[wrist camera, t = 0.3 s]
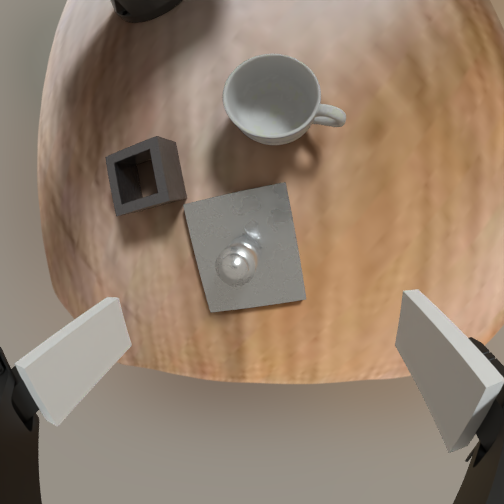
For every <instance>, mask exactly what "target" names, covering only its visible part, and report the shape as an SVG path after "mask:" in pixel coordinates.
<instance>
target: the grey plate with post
mask: <svg viewBox="0 0 504 504" xmlns="http://www.w3.org/2000/svg"><path fill="white" fill-rule="evenodd" d="M183 206H184V211H185V215H186V220H187V224H188V228H189V233H190V237H191V241H192V245H193V249H194V253H195V257H196V261H197V265H198V269H199V273H200V276H201V280H202V284H203V288H204V291H205V295H206V298H207V302H208V306H209V309H210V312H219V311H228V310H236V309H244V308H251V307H259V306H266V305H273V304H280V303H286V302H293V301H299V300H305V299H306V294H305V287H304V281H303V275H302V269H301V263H300V257H299V251H298V245H297V239H296V234H295V228H294V223H293V218H292V212H291V207H290V202H289V197H288V192H287V187H286V182H284V183H279V184H274V185H268V186H263V187H259V188H254V189H249V190H244V191H239V192H235V193H230V194H226V195H221V196H217V197H213V198H208V199H204V200H200V201H196V202H192V203H188V204H184V205H183Z"/></svg>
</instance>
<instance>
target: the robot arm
mask: <svg viewBox="0 0 504 504" xmlns="http://www.w3.org/2000/svg"><path fill="white" fill-rule="evenodd" d="M181 1H182V0H111V3H112V5H113V8H114V10H115V12H116V13H117V15H119V16H120V17H121V18H122V19H124V20H125V21H128V22H143V21H147V20H150V19H153V18H155V17H158V16H160V15H162V14H164V13H166V12H167V11H169V10H171V9H172V8H173V7H175V6H176V5H177V4H179V3H180V2H181ZM131 346H132V345H131V342H130V338H129V335H128V331H127V328H126V324H125V321H124V317H123V313H122V309H121V305H120V301H119V298H114V297H107V298H105V299H104V300H102V301H101V302H99V303H98V304H96V305H95V306H93V307H92V308H91V309H89V310H88V311H86V312H85V313H83V314H82V315H80V316H79V317H78V318H76V319H75V320H73V321H72V322H70V323H69V324H68V325H66V326H65V327H63V328H62V329H61V330H59V331H58V332H56V333H55V334H54V335H52V336H51V337H49V338H48V339H47V340H45V341H44V342H43V343H41V344H40V345H38V346H37V347H36V348H34V349H33V350H32V351H30V352H29V353H28V354H26V355H25V356H24V357H22V358H21V359H20V360H18V362H16V363H15V367H13V368H12V369H11V368H10V366H9V364H8V362H7V359H6V357H5V355H4V353H3V350H2V349H1V347H0V504H42V502H41V493H40V483H39V464H38V438H39V436H38V435H39V417H38V416H37V414H36V412H37V411H38V410H40V411H41V413H42V415H43V416H44V418H45V419H46V420H47V421H48V422H50V423H52V424H54V425H56V426H59V425H60V424H61V422H62V421H63V420H64V419H65V418H66V417H67V416H68V415H69V413H70V412H71V411H72V410H73V409H74V408H75V407H76V406H77V404H78V403H79V402H80V401H81V400H82V399H83V398H84V397H85V396H86V394H87V393H88V392H89V391H90V390H91V389H92V388H93V387H94V385H96V383H97V382H98V381H99V380H100V379H101V378H102V377H103V376H104V375H105V374H106V372H107V371H108V370H109V369H110V368H111V367H112V366H113V365H114V364H115V363H116V362H117V361H118V360H119V359H120V357H121V356H122V355H123V354H124V353H125V352H126V351H127V350H128V349H129V348H130V347H131ZM395 346H396V348H397V350H398V351H399V353H400V355H401V357H402V359H403V360H404V362H405V364H406V366H407V368H408V370H409V371H410V373H411V375H412V377H413V379H414V381H415V383H416V385H417V387H418V389H419V390H420V392H421V394H422V396H423V398H424V400H425V402H426V404H427V406H428V409H429V410H430V413H431V415H432V417H433V419H434V421H435V423H436V425H437V428H438V430H439V432H440V434H441V436H442V439H443V441H444V443H445V445H446V448H447V450H448V453H451V452H453V451H456V450H458V449H461V448H463V447H465V446H468V444H469V443H470V441H471V440H472V439H473V437H474V435H475V434H477V436H478V438H479V442H478V443H477V445H476V446H475V447H474V449H473V450H472V452H471V453H470V454H469V456H468V457H467V459H466V462H468V461H469V459H470V458H471V456H472V459H471V462H470V464H469V467H468V470H467V473H466V475H465V478H464V480H463V483H462V485H461V487H460V490H459V492H458V494H457V496H456V499H455V500H454V503H453V504H504V366H503V365H502V364H501V363H500V362H499V361H498V360H497V359H495V356H494V355H493V354H492V353H489V350H488V349H487V348H486V347H485V346H484V345H483V344H482V343H481V342H479V341H477V340H475V339H474V338H472V337H470V338H467V337H466V336H465V334H464V333H463V332H462V331H461V330H460V329H459V328H458V327H457V326H456V325H455V324H454V323H453V322H452V321H451V320H450V319H449V318H448V317H447V316H446V315H445V314H444V313H443V312H442V311H440V310H439V309H438V308H437V307H436V306H435V305H434V304H433V303H432V302H431V301H430V300H429V299H428V298H427V297H426V296H425V295H424V294H422V293H421V292H420V291H419V290H418V289H417V290H407V291H403V296H402V304H401V312H400V318H399V325H398V331H397V337H396V342H395Z"/></svg>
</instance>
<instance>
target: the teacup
mask: <svg viewBox="0 0 504 504" xmlns="http://www.w3.org/2000/svg"><path fill="white" fill-rule="evenodd" d="M320 101H321V91H320V86H319V83H318V80H317V78H316V77H315V75H314V73H313V72H312V71H311V70H310V69H309V68H308V67H307V66H306V65H305V64H304V63H302V62H300V61H298V60H297V59H295V58H292V57H290V56H286V55H281V54H264V55H259V56H255V57H253V58H250V59H248V60H246V61H244V62H243V63H241V64H240V65H239V66H238V67H237V68H236V69H235V70H234V71H233V72H232V73H231V74H230V76H229V77H228V79H227V81H226V83H225V86H224V90H223V104H224V108H225V111H226V113H227V115H228V116H229V118H230V119H231V121H232V122H233V123H234V124H235V125H236V126H237V127H238V128H239V129H240V130H241V131H242V132H243V133H244V134H245V135H246V136H248V137H249V138H251V139H252V140H254V141H256V142H259V143H262V144H266V145H282V144H287V143H290V142H292V141H295V140H296V139H298V138H300V137H301V136H302V135H303V134H304V133H305V132H306V131H307V130H308V129H309V127H310V126H311V124H320V125H325V126H331V127H341V126H343V125H344V124H345V121H346V115H345V113H344V112H343V111H342V110H341V109H339V108H337V107H334V106H331V105H326V104H320Z"/></svg>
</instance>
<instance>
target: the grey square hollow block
mask: <svg viewBox="0 0 504 504" xmlns="http://www.w3.org/2000/svg"><path fill="white" fill-rule="evenodd" d="M151 159H152V164H153V169H154V174H155V179H156V184H157V189H158V193H157V194H153V195H150V196H147V197H144V198H143V197H142V192H141V187H140V182H139V177H138V171H137V166H136V165H137V164H140V163H142V162H145V161H148V160H151ZM106 164H107V170H108V176H109V182H110V187H111V193H112V198H113V203H114V207H115V212H116V216H120V215H125V214H129V213H134V212H138V211H142V210H145V209H149V208H152V207H156V206H159V205H163V204H167V203H170V202H174V201H178V200H182V199H186V198H187V195H186V191H185V186H184V181H183V176H182V172H181V167H180V162H179V156H178V151H177V146H176V142H174V141H171V140H168V139H165V138H162V137H159V136H156V137H153V138H150V139H148V140H145V141H143V142H140V143H137V144H135V145H133V146H130V147H128V148H125V149H123V150H121V151H118V152H116V153H114V154H111V155H109V156H107V157H106Z"/></svg>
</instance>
